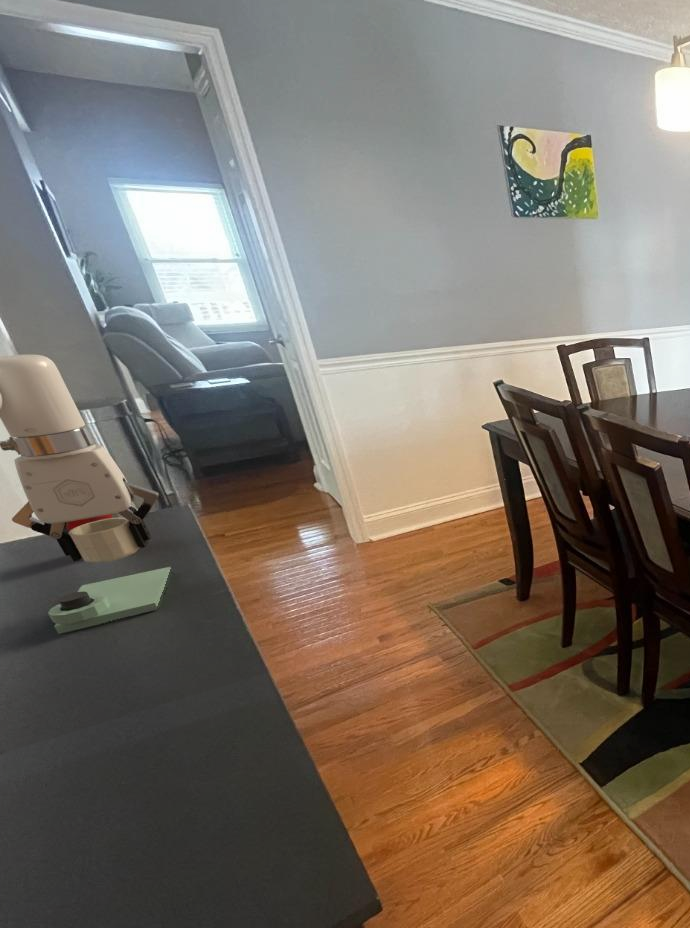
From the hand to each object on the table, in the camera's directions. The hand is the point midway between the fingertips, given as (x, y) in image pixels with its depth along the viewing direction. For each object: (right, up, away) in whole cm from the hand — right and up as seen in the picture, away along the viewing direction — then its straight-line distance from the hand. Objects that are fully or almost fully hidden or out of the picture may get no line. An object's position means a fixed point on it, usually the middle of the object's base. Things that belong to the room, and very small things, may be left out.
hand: (112, 550), depth 95 cm
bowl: (0, -1, 0) cm, 1 cm away
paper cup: (-21, -1, +18) cm, 28 cm away
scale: (+1, -8, +1) cm, 8 cm away
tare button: (+1, -8, -6) cm, 10 cm away
